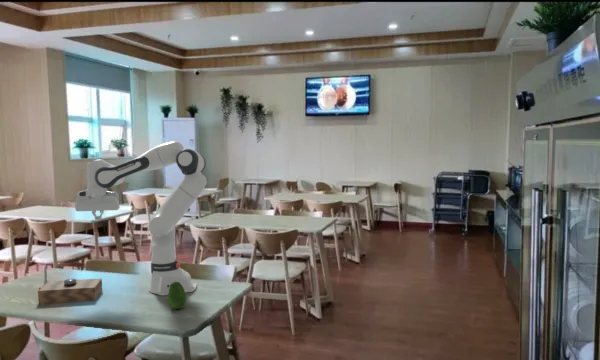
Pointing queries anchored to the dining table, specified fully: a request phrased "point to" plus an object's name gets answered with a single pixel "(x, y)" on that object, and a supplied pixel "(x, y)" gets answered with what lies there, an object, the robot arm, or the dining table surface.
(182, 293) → the avocado
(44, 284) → the tow hook
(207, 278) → the dining table surface
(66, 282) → the steel pin
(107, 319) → the dining table surface
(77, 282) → the hitch block
